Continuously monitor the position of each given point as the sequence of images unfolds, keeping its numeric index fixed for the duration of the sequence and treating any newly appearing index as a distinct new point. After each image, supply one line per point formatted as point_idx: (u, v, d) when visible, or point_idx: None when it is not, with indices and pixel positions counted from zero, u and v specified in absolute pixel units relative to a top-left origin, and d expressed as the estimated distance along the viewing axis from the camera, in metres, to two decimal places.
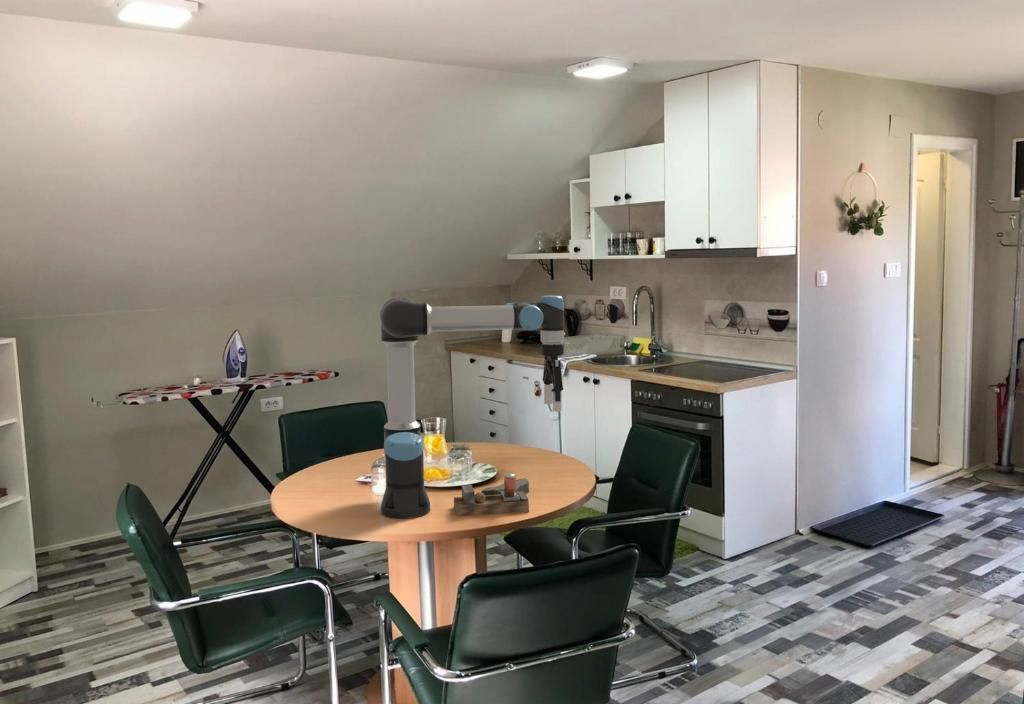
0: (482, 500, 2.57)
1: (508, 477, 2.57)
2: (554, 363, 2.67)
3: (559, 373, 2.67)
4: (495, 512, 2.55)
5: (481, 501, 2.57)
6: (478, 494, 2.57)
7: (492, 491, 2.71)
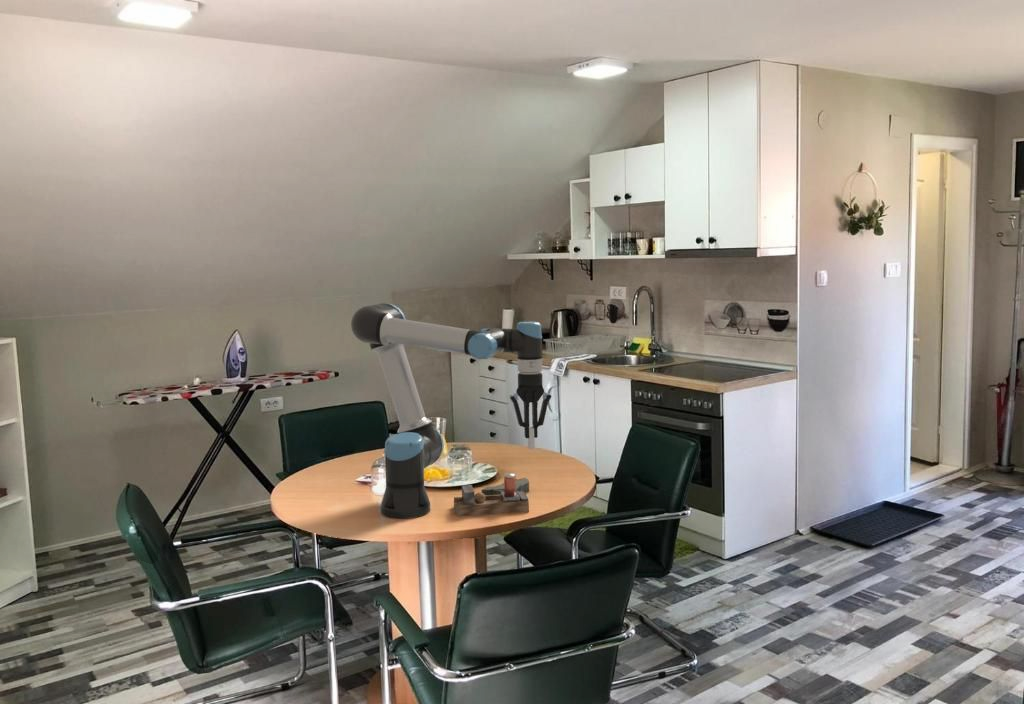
0: (482, 500, 2.57)
1: (508, 477, 2.57)
2: None
3: (515, 410, 2.56)
4: (495, 512, 2.55)
5: (481, 501, 2.57)
6: (478, 494, 2.57)
7: (492, 490, 2.72)
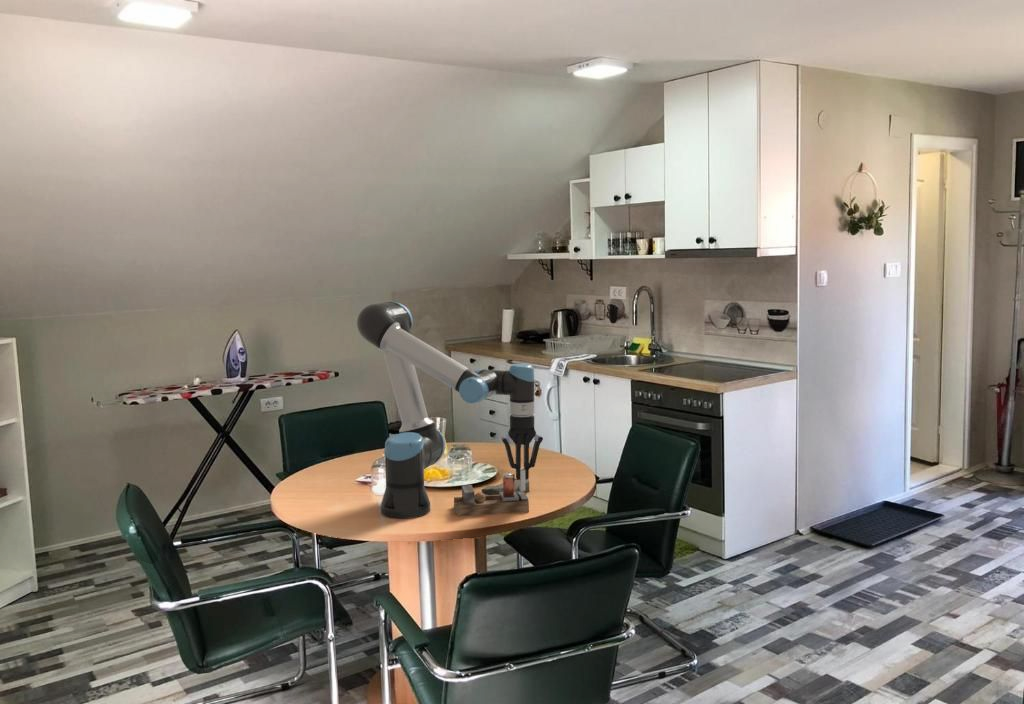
0: (482, 500, 2.57)
1: (507, 477, 2.57)
2: None
3: (507, 451, 2.57)
4: (495, 512, 2.55)
5: (481, 501, 2.57)
6: (478, 494, 2.57)
7: (491, 490, 2.73)
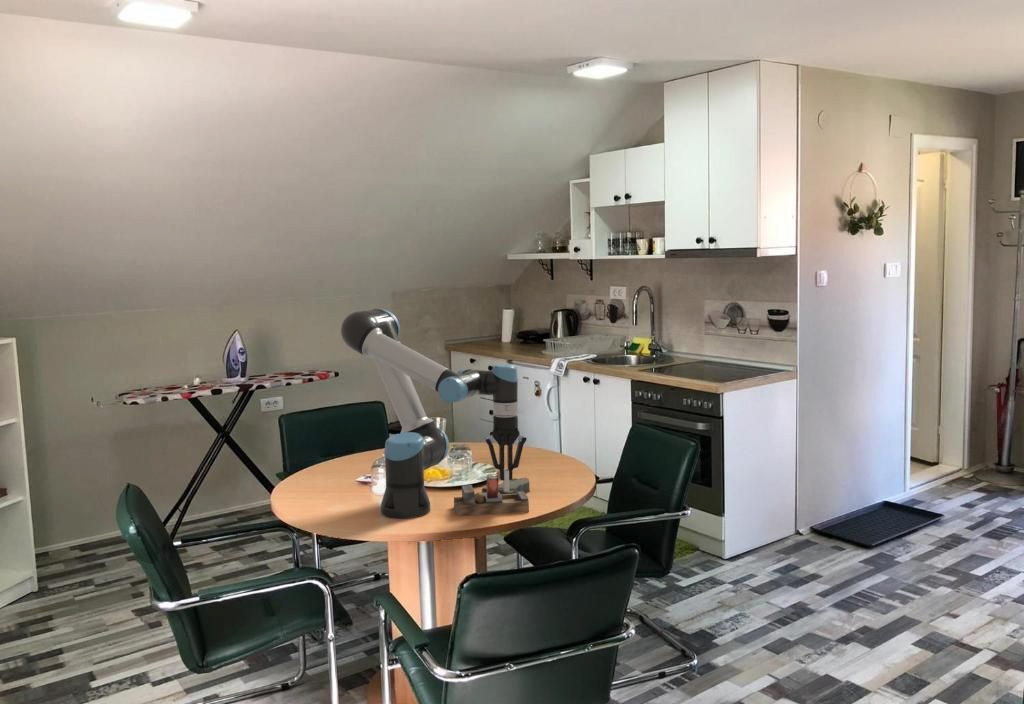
0: (481, 500, 2.57)
1: (491, 478, 2.56)
2: None
3: (490, 452, 2.57)
4: (495, 512, 2.55)
5: (481, 501, 2.57)
6: (477, 494, 2.57)
7: None
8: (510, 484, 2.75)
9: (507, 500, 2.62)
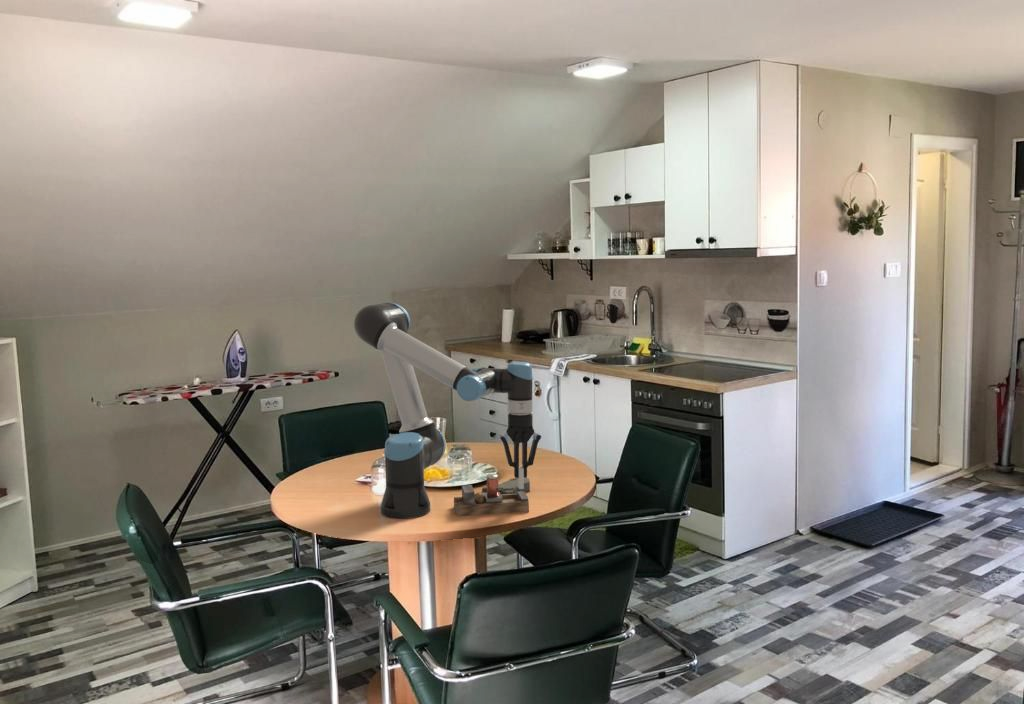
0: (481, 500, 2.57)
1: (491, 478, 2.56)
2: None
3: (505, 450, 2.57)
4: (495, 512, 2.55)
5: (481, 501, 2.57)
6: (477, 494, 2.57)
7: None
8: (510, 484, 2.76)
9: (507, 500, 2.62)
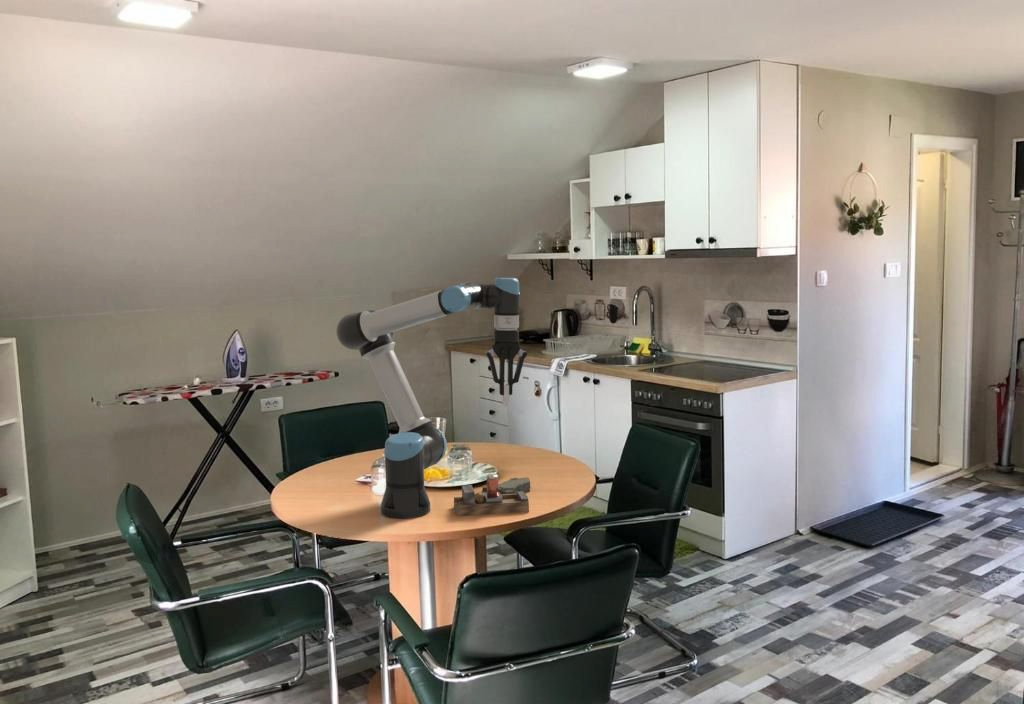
0: (481, 500, 2.57)
1: (491, 478, 2.56)
2: (486, 355, 2.55)
3: (490, 366, 2.55)
4: (495, 512, 2.55)
5: (481, 501, 2.57)
6: (477, 494, 2.57)
7: None
8: (510, 484, 2.76)
9: (507, 500, 2.62)
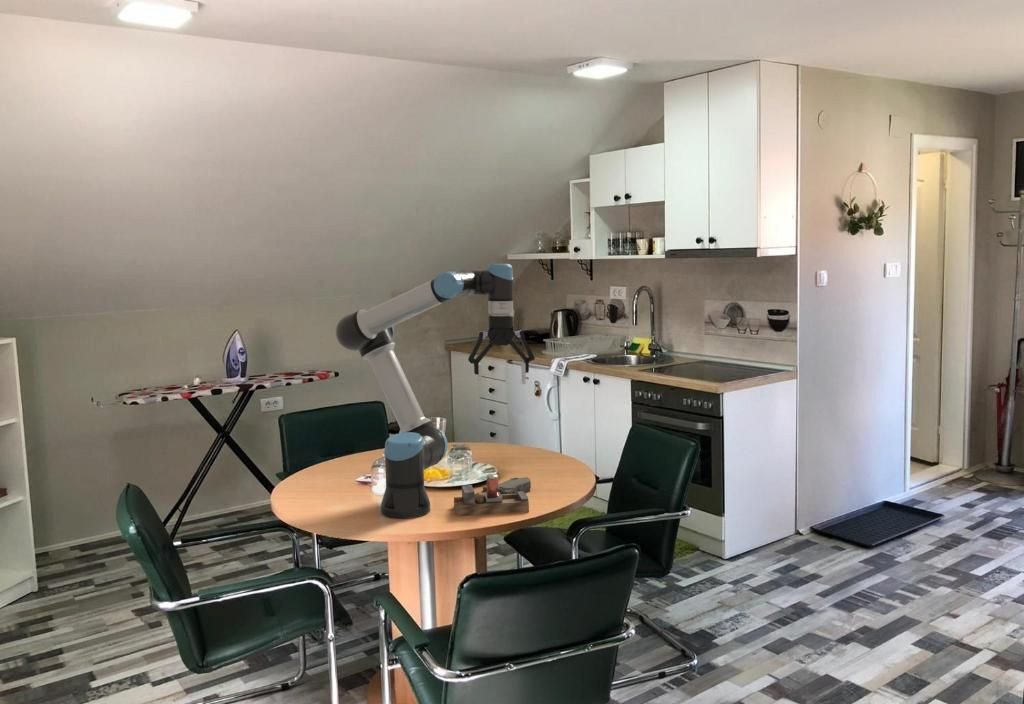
0: (481, 500, 2.57)
1: (491, 478, 2.56)
2: (478, 334, 2.55)
3: (475, 345, 2.53)
4: (495, 512, 2.55)
5: (481, 501, 2.57)
6: (477, 494, 2.57)
7: None
8: (510, 483, 2.76)
9: (507, 500, 2.62)
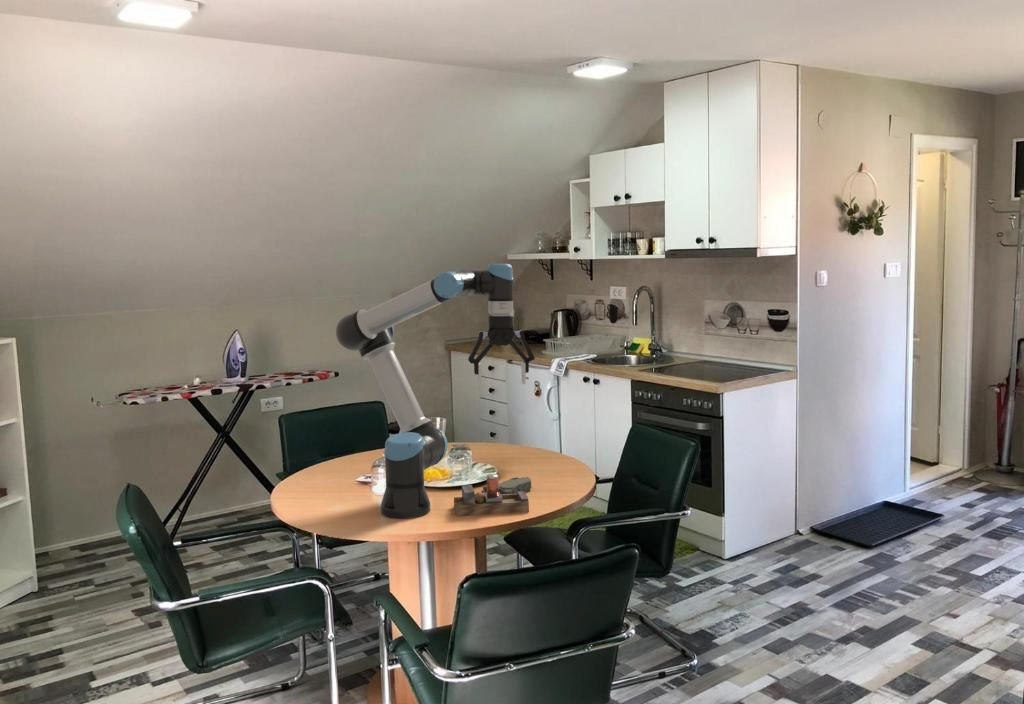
0: (481, 500, 2.57)
1: (491, 478, 2.56)
2: (478, 334, 2.55)
3: (475, 345, 2.53)
4: (495, 512, 2.55)
5: (481, 501, 2.57)
6: (477, 494, 2.57)
7: None
8: (510, 483, 2.77)
9: (507, 500, 2.62)
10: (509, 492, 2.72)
